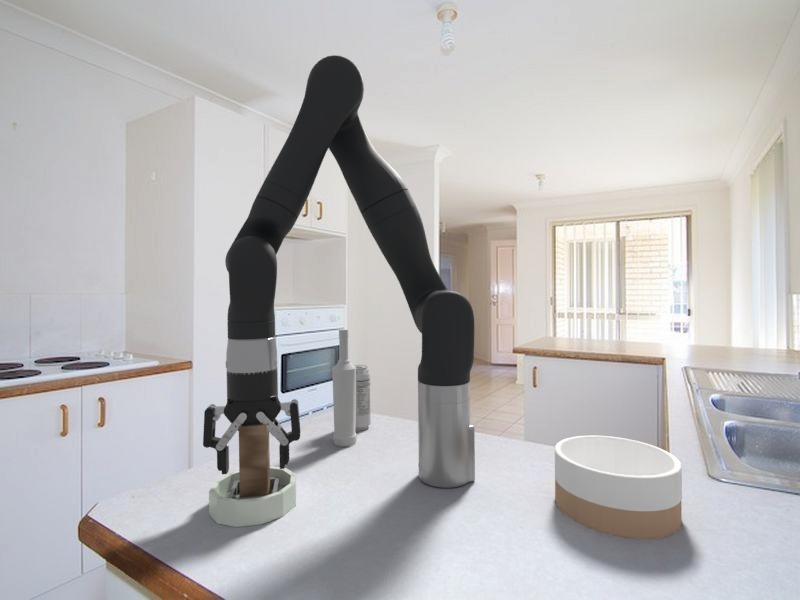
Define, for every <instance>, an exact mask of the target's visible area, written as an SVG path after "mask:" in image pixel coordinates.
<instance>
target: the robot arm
mask: <svg viewBox="0 0 800 600" xmlns="http://www.w3.org/2000/svg"><path fill="white" fill-rule="evenodd" d="M306 81H307V82H306V87H305V92H304V98H303V100H302V103H301V106H300V108H299V111H298V114H297V117H296V119H295V121H294V124H293V126H292V127H291V130H290V132H289V135H288V137H287V139H286V140H285V142H284V144H283V146H282V147H281V149H280V152H278V155H277V157H276V158H275V160H274V162H273V165H272V166H271V168H270V170H269V171H268V173H267V175H266V177H265V179H264V181H263V183H262V184H261V187H260V188H259V191H258V192H257V195H256V197H255V198H254V201H253V203H252V205H251V208H250V211H249V214H248V215H247V218H246V220H245V221H244V223H243V225H242V226H241V228H240V229H239V231H238V233H237V235H236V237H235V238H234V240H233V242H232V243H231V245H230V247H229V248H228V251H227V252H226V255H225V268H226V270H227V272H228V283H229V284H228V285H229V286H228V287H229V305H228V309H227V321H226V322H227V346H226V355H225V356H226V357H225V358H226V359H225V369H226V405H225V406H224V405H223V406H221V405H220V406H219V405H218V406H216V405H215V404H210V405H208V406H207V408H206V409H205V410H204V411H203V412H204V416H203V417H204V418H203V433H202V434H203V437H202V438H203V439H202V445H203V447H204V448H207V449H208V448H212V449H214V450H215V451H216V466H217V467H216V468H217V470H218V471H220V472H221V475H227V474H228V473H229V471H230V453H229V452H230V448H229V445H228V444H229V443H230V441H231V440H232V438H233V437H234V436H235V434H236V433H237V432H239V426H241V425H250V424H263V425H266V429H267V430H268V431H269V434H271V436H272V437H274V438H275V439H276V440H277V441H278V442H279V445H278V446H279V450H278V451H279V453H278V455H279V467H280V469H284V468H286V466H288V464H289V462H290V444H291V443H292V442H295V441H296V442H297V441H299V440H300V439H301V423H300V411H299V410H300V407H299V401H298V400H297V399H295V398H294V399H292V400H291V401H287V402H281V401H280V400H279V394H278V393H279V386H278V385H279V382H278V379H279V377H278V372H279V371H278V349H277V347H278V346H277V343H276V342H277V341H276V315H275V313H276V312H275V299H276V290H277V280H278V258H277V254H278V252H279V250H280V248H281V246H282V245H283V244H282V243H283V241H284V240H285V238H286V236H287V235H288V234H289V233H290V232H291V230H292V229H293V227H294V226H295V224H296V222H297V220H298V218H299V216H300V214H301V212H302V210H303V208H304V206H305V203H306V202H307V199H308V198H309V196H310V193H311V191H312V189H313V186H314V183H315V181H316V178H317V176H318V173H319V171H320V169H321V166H322V164H323V161H324V158H325V156H326V155H327V151H328V150H329V151H330V152H331V155H332V156H333V157H334V159H335V161H336V163H337V165H338V166H339V169H340V171H341V173H342V176H343V178H344V180H345V183H346V185H347V187H348V189H349V191H350V194H351V195H352V197H353V199H354V201H355V203H356V205H357V207H358V210H359V212H360V214H361V216H362V219H363V220H364V222H365V224H366V226H367V228H368V230H369V232H370V233H371V236H372V238H373V239H374V241H375V243H376V245H377V246H378V248H379V250H380V252H381V254H382V255H383V257H384V259H385V261H386V262H387V264H388V266H389V267H390V268H391V271H392V272H393V274H394V275H395V277H396V279H397V281H398V283H399V284H400V287H401V290H402V293H403V295H404V297H405V300H406V303H407V306H408V308H409V311H410V314H411V317H412V319H413V321H414V325H415V327H416V328H417V330H418V331H419V332H420V334H421V358H420V361H419V362H420V363H419V364H418V366H417V413H418V414H417V417H418V419H417V421H418V422H417V423H418V428H417V429H418V432H417V433H418V434H417V435H418V441H417V442H418V479H420V481H421V482H423V483H424V484H427V485H429V486H431V487H436V488H443V489H446V488H449V489H450V488H457V487H461V486H464V485H467V483H469V482H470V483H471V482H475V480H476V472H475V471H476V458H475V457H476V455H475V454H476V450H475V447H476V446H475V441H476V440H475V436H476V435H475V430H476V429H475V426H474V425H473V424H472V423H471V371H472V368H473V365H474V360H475V359H474V355H475V315H474V310H473V307H472V304H471V303H470V301H469V300H468V299H467V297H466V296H464V295H463V294H461V293H459V292H458V291H453V290H449V289H448V287H447V286H446V285H445V282H444V281H443V279H442V278H441V276H440V274H439V272H438V270H437V269H436V267H435V265H434V262H433V259H432V255H431V253H430V249H429V245H428V239H427V235H426V231H425V227H424V222H423V220H422V218H421V214H420V212H419V210H418V208H417V205H416V203H415V201H414V199H413V197H412V195H411V193H410V191H409V188H408V187H407V184H406V183H405V181H404V180H403V178H402V177H401V175H400V174H399V173H398V172H397V171H396V170H395V169H394V168H393V167H392V166H391V165H390V164H389V163H388V162H387V161H386V160H385V159H384V158H383V157H382V156H381V155H380V154H379V152H378V151H377V150H376V149H375V147H374V146H373V144H372V141H370V139H369V137H368V135H367V133H366V132H367V131H366V130H365V127H364V126H363V123H362V120H361V117H360V115H359V108H360V106H361V104H362V101H363V99H364V92H365V83H364V79H363V75H362V72H361V71H360V69H359V68H358V66H357V65H356V64H355V63H354V62H353V61H352V60H350V59H349V58H347V57H344V56H342V55H335V54H334V55H328V56H326V57H322V58H321V59H320V60H318V61H317V62H316V63H315V64H314V65H313V67H312V69H311V70H310V72H309V74H308V77H307V80H306ZM281 411H283V412H284V414H285V416H287V417H290V428H291V431H289V432H287V431H286V430H285V428H283V426H282V424H281V422H280V421H278V420H277V417H278V415H279V414H280V412H281ZM221 415H224V416H225V417H226V419H227V420H228V422H230V423H231V424H230V425H229V427H228V428H227V429H226V430H225V432H224V434H223V435H222V436H221V437H218V436H216V422H218V421H219V419H220V418H221Z"/></svg>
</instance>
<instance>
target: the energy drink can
mask: <svg viewBox="0 0 800 600" xmlns="http://www.w3.org/2000/svg"><path fill="white" fill-rule="evenodd" d="M353 365H354V366H355V367H356V424H355V432H358V431H359V432H360V431H365V430H367V429H369V426H370V425H371V421H372V420H371V418H372V417H371V415H372V414H371V412H372V411H371V372H370V371H369V369H368V366H367V365H364V364H363V365H362V364H353Z"/></svg>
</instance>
